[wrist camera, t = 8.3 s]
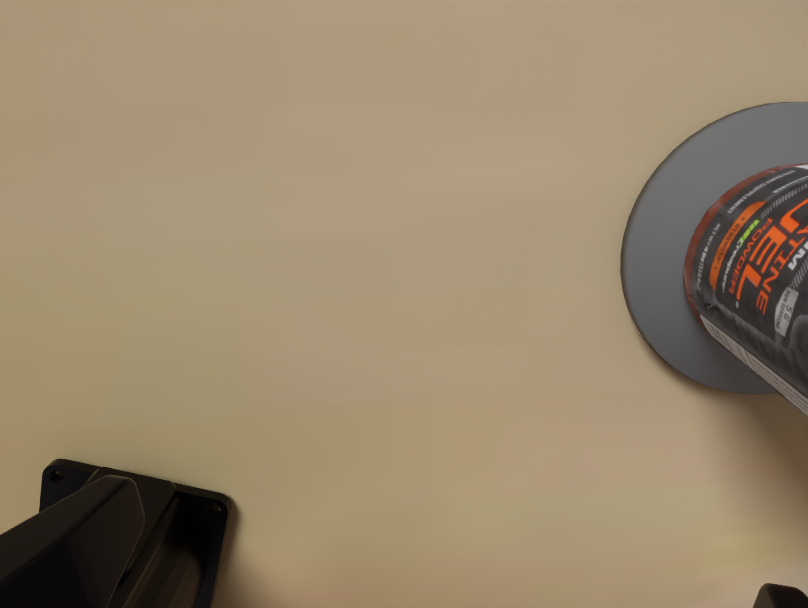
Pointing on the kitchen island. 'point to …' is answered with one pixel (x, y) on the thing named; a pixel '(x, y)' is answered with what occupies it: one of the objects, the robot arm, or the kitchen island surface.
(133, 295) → the kitchen island surface
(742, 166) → the coaster
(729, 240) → the supplement bottle
